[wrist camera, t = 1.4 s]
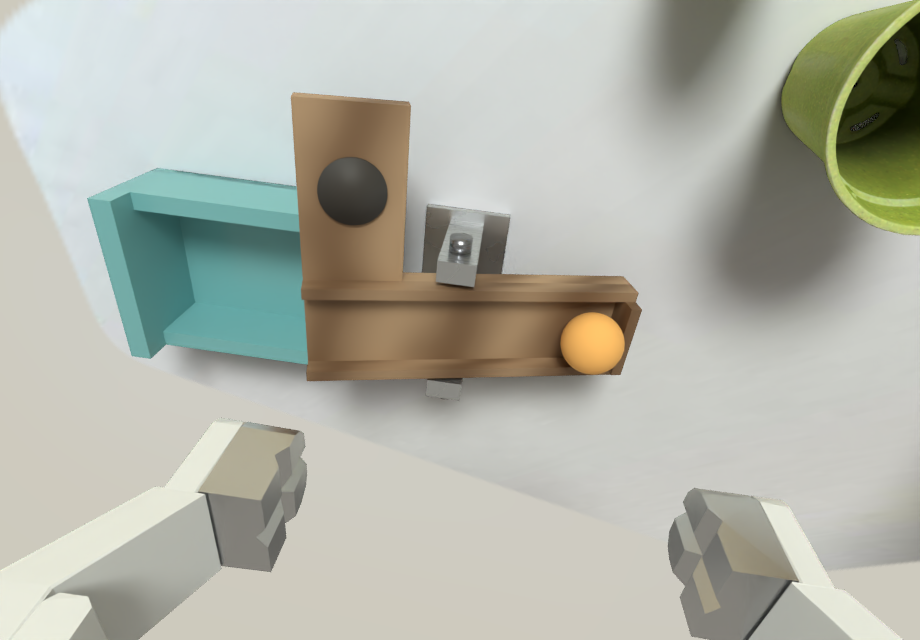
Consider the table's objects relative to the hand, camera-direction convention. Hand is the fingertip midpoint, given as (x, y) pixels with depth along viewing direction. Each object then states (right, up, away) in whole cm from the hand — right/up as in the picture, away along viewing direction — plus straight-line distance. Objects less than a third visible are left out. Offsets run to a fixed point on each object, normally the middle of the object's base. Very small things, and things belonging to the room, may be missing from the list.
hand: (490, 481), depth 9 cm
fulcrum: (0, +5, +24) cm, 25 cm away
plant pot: (+19, +15, +17) cm, 29 cm away
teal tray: (-14, +7, +25) cm, 29 cm away
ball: (+7, +2, +20) cm, 21 cm away
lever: (0, +7, +18) cm, 20 cm away
